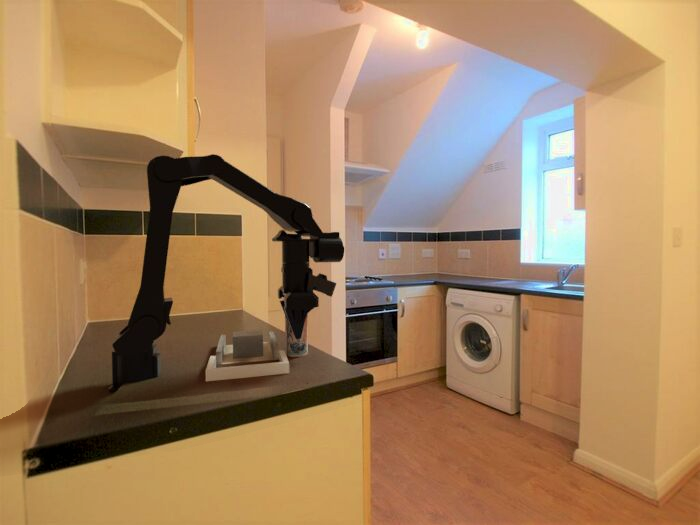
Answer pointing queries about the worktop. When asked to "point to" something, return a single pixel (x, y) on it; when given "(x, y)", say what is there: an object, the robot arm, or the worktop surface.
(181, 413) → the worktop surface
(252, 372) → the tray
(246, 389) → the worktop surface
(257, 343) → the grey block
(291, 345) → the beer can
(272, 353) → the slot plate
